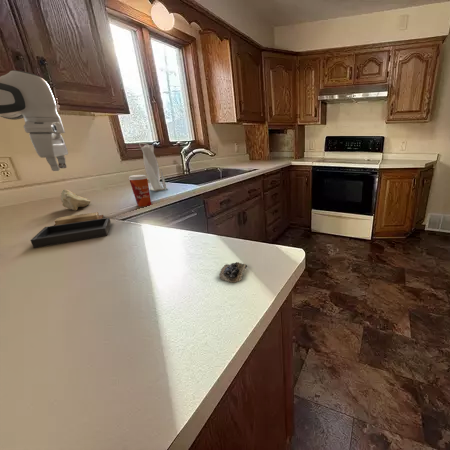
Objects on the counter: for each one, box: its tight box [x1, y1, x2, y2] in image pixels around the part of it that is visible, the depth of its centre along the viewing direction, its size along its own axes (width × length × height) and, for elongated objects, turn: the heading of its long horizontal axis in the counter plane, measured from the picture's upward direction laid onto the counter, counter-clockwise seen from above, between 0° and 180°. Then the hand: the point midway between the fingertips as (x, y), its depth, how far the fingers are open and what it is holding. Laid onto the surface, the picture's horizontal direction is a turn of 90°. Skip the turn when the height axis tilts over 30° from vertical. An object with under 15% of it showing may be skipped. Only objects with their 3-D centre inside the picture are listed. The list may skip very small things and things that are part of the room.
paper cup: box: [128, 174, 152, 207], centre depth 115 cm, size 8×8×14 cm
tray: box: [30, 217, 112, 249], centre depth 82 cm, size 18×14×3 cm
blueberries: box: [218, 261, 248, 284], centre depth 56 cm, size 7×8×2 cm
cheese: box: [60, 188, 91, 211], centre depth 112 cm, size 15×7×15 cm
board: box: [54, 211, 100, 225], centre depth 93 cm, size 12×5×2 cm, turn 122°
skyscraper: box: [138, 142, 168, 193], centre depth 147 cm, size 8×8×28 cm
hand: (60, 169), depth 87 cm, fingers open, 8 cm apart
